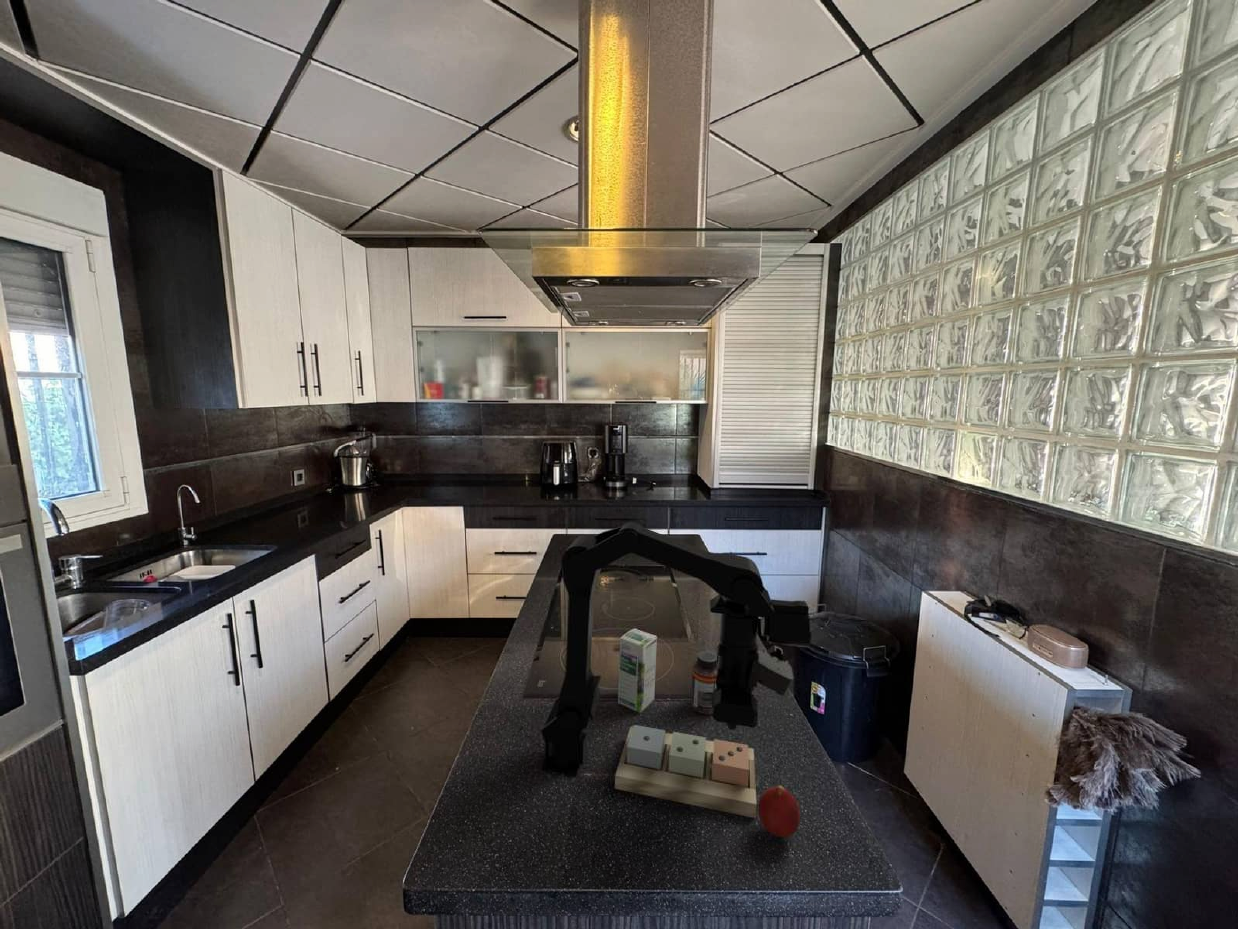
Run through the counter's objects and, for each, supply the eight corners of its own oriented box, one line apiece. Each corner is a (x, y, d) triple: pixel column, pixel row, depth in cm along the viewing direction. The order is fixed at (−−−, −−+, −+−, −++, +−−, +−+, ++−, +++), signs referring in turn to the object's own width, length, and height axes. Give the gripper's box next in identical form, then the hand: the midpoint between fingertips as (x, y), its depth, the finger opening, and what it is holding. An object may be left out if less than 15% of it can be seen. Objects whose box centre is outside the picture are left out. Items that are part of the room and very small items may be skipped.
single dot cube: (626, 763, 82) (627, 746, 82) (633, 740, 87) (633, 724, 87) (659, 769, 81) (660, 752, 80) (664, 745, 86) (665, 729, 86)
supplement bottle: (695, 694, 105) (698, 645, 103) (723, 703, 102) (726, 652, 100) (686, 710, 99) (689, 658, 98) (715, 720, 97) (718, 666, 95)
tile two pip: (668, 771, 81) (669, 754, 80) (672, 747, 86) (673, 731, 85) (702, 778, 79) (704, 760, 79) (705, 753, 85) (705, 737, 84)
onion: (766, 810, 76) (770, 764, 75) (803, 832, 73) (808, 784, 71) (750, 836, 72) (753, 787, 70) (789, 860, 68) (793, 809, 67)
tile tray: (614, 788, 80) (615, 775, 79) (630, 738, 91) (630, 726, 91) (755, 818, 75) (756, 804, 74) (752, 761, 86) (753, 748, 86)
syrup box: (616, 703, 101) (618, 637, 99) (632, 689, 106) (634, 626, 104) (640, 714, 98) (642, 646, 96) (655, 699, 103) (657, 634, 101)
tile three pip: (711, 779, 79) (712, 762, 78) (713, 755, 84) (714, 738, 84) (747, 786, 78) (748, 769, 77) (746, 761, 83) (748, 744, 83)
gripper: (799, 680, 67) (790, 782, 69) (785, 618, 85) (778, 701, 87) (716, 667, 69) (709, 766, 72) (719, 610, 87) (714, 691, 90)
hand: (731, 728), depth 80 cm, fingers closed
